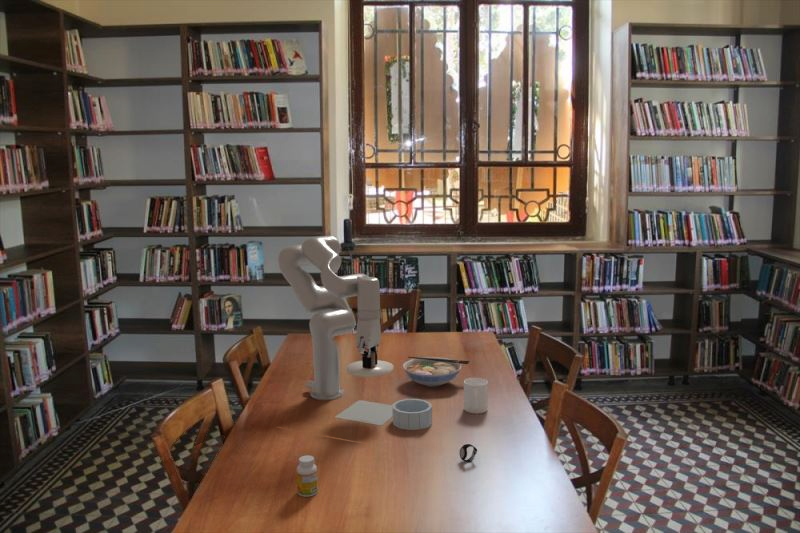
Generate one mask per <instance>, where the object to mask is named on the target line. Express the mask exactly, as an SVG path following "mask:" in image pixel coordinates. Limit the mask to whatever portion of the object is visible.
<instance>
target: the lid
mask: <svg viewBox="0 0 800 533" xmlns="http://www.w3.org/2000/svg"><path fill="white" fill-rule="evenodd" d="M370 357H371V368H370V369H369V368H363V367H362V360H358V361H353V362H351V363H349V364H348V365H347V366H346V373H347V374H349V375H351V376H354V377H359V378H378V377H383V376H387V375H389V374H391V373H392V372H393V371H394V364H393V363H391V362H388V361H385V360H379V359H377V365H375V352H373V351H370Z"/></svg>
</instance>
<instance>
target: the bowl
mask: <svg viewBox="0 0 800 533" xmlns="http://www.w3.org/2000/svg"><path fill="white" fill-rule="evenodd" d="M391 405H392V418H391V419H392V420H391V421H392V425H393V426H394V427H396V428H398V429H401V430H405V431H406V430H407V431H416V430H423V429H424V430H426V429H428V428H430V427H431V426H432V425H433V405H432V403H431V402H429V401H427V400H425V399H419V398H403V399H401V400H397V401H395V402H394V403H392V404H391Z"/></svg>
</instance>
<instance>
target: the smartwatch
mask: <svg viewBox="0 0 800 533" xmlns="http://www.w3.org/2000/svg"><path fill="white" fill-rule="evenodd" d="M470 447H472V448H473V450H472V453H471V456H470V457H469V458H468V459H467V456H468V448H470ZM477 453H478V449H477V448H476V447H475V446H473V445H472V444H470V443H468V444H466V443H465V444H463V445H462V446H461V448H460V449H459V456H460V460H462V461H463V462H465V463H471V462H472V461H473V460H474V459H475V456H476V455H477Z"/></svg>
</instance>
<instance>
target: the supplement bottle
mask: <svg viewBox="0 0 800 533" xmlns="http://www.w3.org/2000/svg"><path fill="white" fill-rule="evenodd" d="M296 484H297V485H296V487H297V488H296V491H297V494H298V495H299V496H300V497H304V498H309V497H313V496H316V495H317V493H318V492H319V491H318V490H319V488H318V467H317V465H316V464H315V457H314V456H312V455H307V454H306V455H303V456H300V457H299V459H298V466H296Z"/></svg>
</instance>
